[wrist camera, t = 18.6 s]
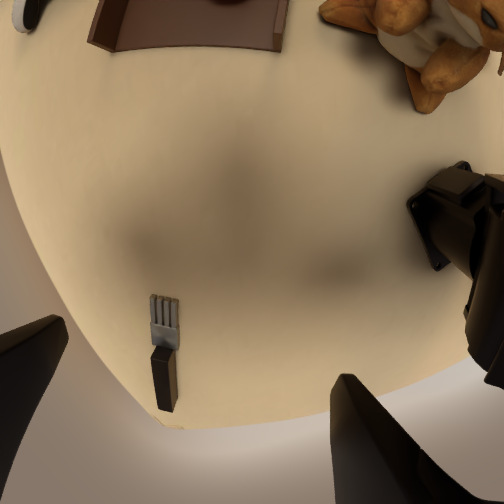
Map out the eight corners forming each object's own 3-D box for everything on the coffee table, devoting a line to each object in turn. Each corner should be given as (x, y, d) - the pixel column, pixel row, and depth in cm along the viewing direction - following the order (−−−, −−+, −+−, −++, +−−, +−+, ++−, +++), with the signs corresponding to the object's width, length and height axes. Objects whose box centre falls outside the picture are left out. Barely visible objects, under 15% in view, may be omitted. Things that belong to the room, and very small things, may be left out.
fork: (181, 398, 26) (176, 414, 24) (160, 393, 26) (154, 408, 24) (179, 299, 21) (170, 315, 19) (151, 293, 21) (140, 308, 19)
